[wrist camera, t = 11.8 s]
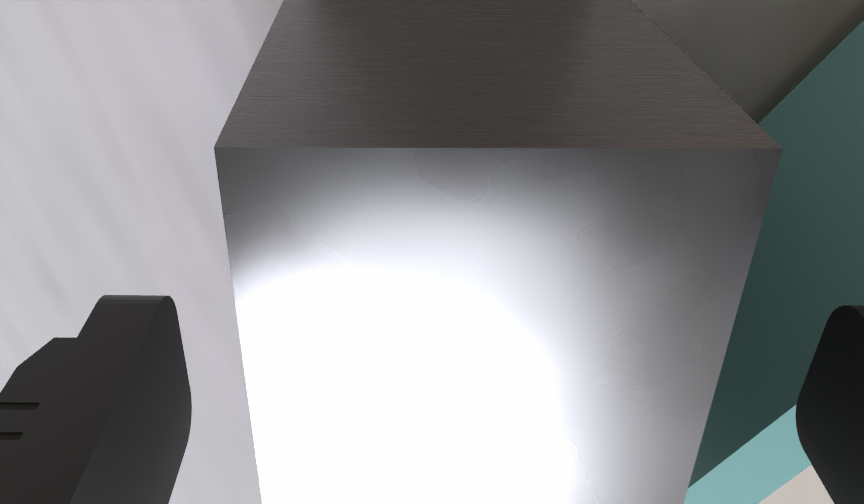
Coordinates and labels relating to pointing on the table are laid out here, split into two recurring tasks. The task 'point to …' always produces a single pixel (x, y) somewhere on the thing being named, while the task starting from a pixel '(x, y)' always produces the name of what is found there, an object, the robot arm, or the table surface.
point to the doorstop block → (484, 251)
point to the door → (790, 283)
